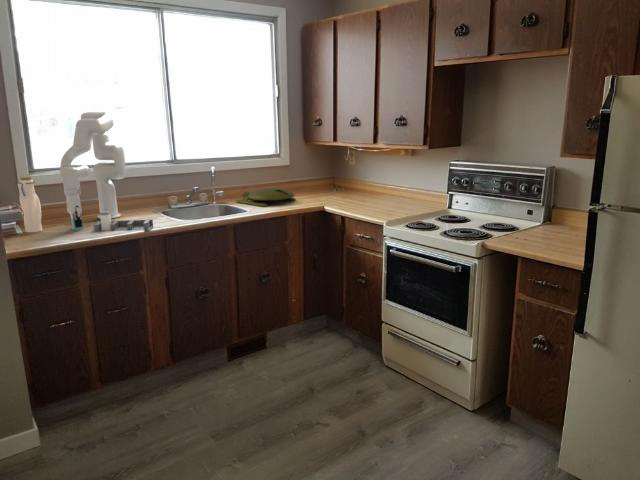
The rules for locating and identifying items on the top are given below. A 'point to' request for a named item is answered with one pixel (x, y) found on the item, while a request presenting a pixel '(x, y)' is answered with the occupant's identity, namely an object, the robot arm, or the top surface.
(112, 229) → the comb rack
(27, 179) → the water bottle
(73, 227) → the teal plug
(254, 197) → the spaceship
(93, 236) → the top surface
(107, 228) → the white plug
